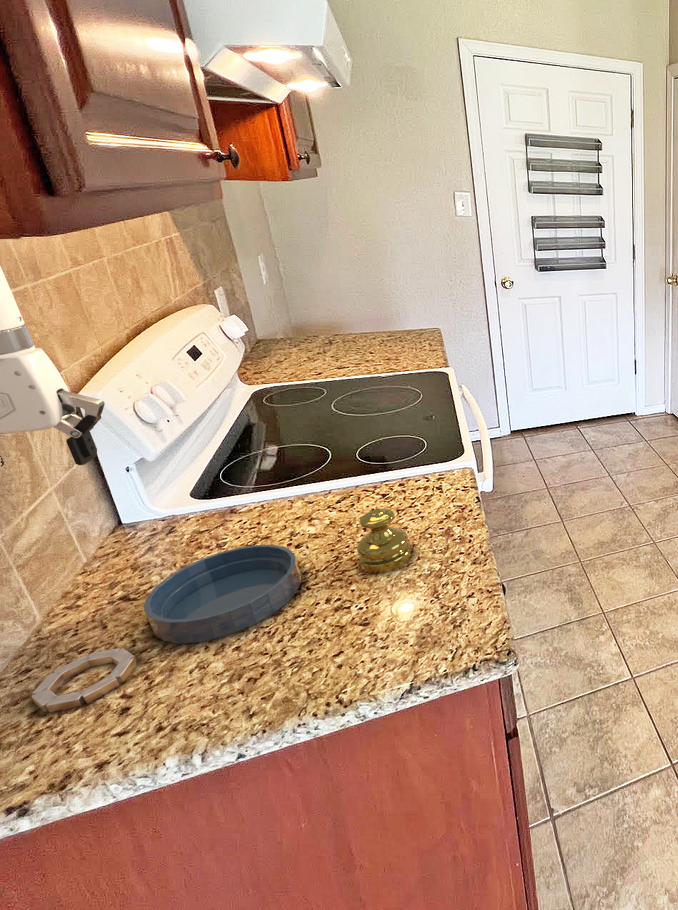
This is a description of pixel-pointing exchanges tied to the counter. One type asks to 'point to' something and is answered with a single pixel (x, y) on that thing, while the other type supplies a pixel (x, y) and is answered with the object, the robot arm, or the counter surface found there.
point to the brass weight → (382, 543)
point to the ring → (54, 703)
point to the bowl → (222, 593)
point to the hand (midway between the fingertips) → (41, 465)
